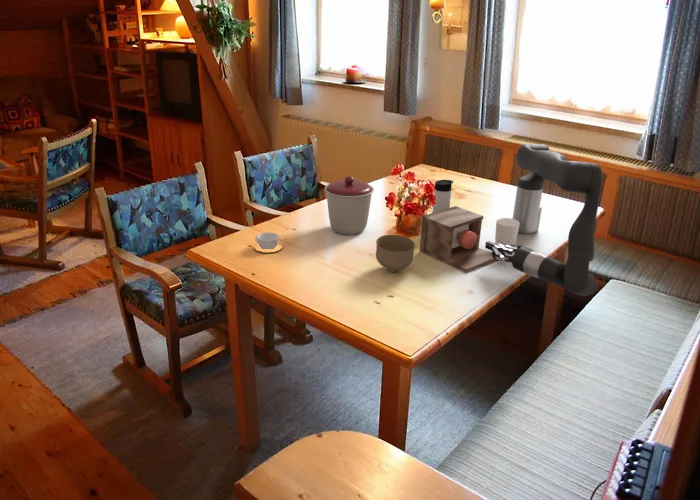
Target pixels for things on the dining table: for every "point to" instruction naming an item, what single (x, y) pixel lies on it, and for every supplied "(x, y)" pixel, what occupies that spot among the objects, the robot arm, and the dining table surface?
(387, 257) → the bowl
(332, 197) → the canister
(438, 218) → the cabinet
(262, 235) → the teacup
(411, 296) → the dining table surface
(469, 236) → the drawer with red knob
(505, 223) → the white cup
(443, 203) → the travel mug
